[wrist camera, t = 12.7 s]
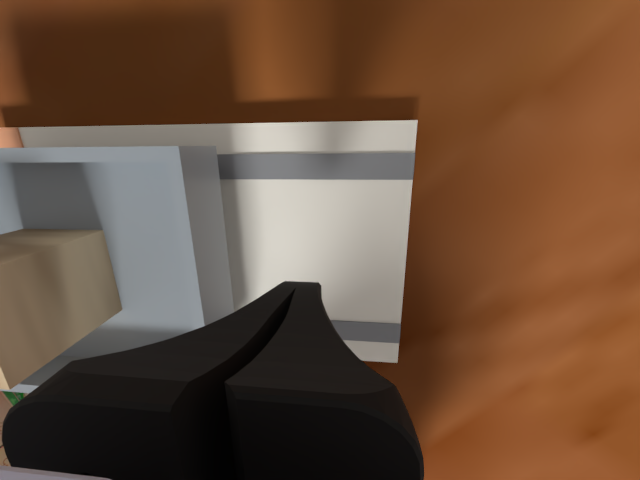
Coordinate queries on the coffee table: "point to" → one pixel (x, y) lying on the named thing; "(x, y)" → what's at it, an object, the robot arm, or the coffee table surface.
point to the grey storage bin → (130, 234)
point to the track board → (299, 209)
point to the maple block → (50, 295)
